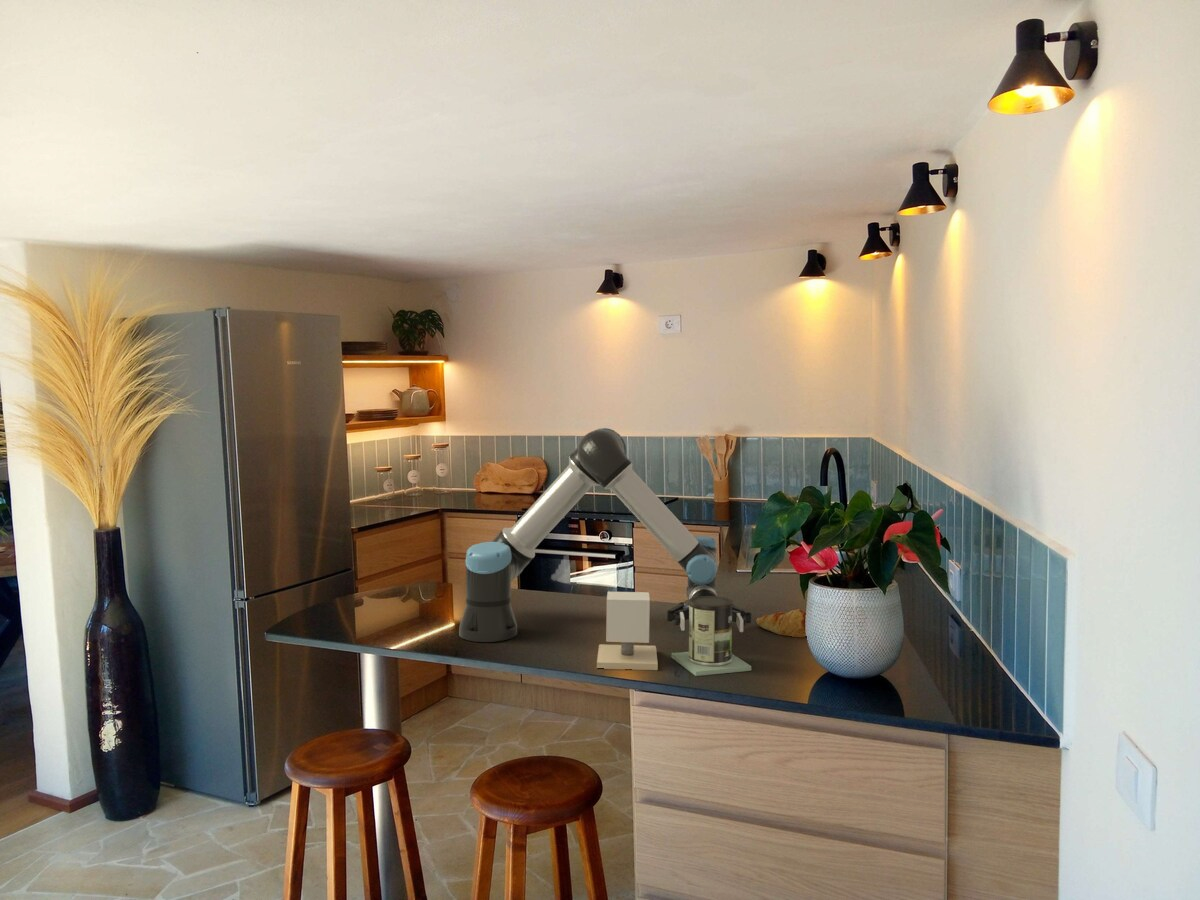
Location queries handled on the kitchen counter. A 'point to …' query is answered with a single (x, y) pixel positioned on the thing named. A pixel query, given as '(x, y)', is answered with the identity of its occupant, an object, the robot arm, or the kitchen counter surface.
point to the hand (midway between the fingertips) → (712, 625)
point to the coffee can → (710, 630)
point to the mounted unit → (627, 633)
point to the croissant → (784, 623)
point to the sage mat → (699, 670)
